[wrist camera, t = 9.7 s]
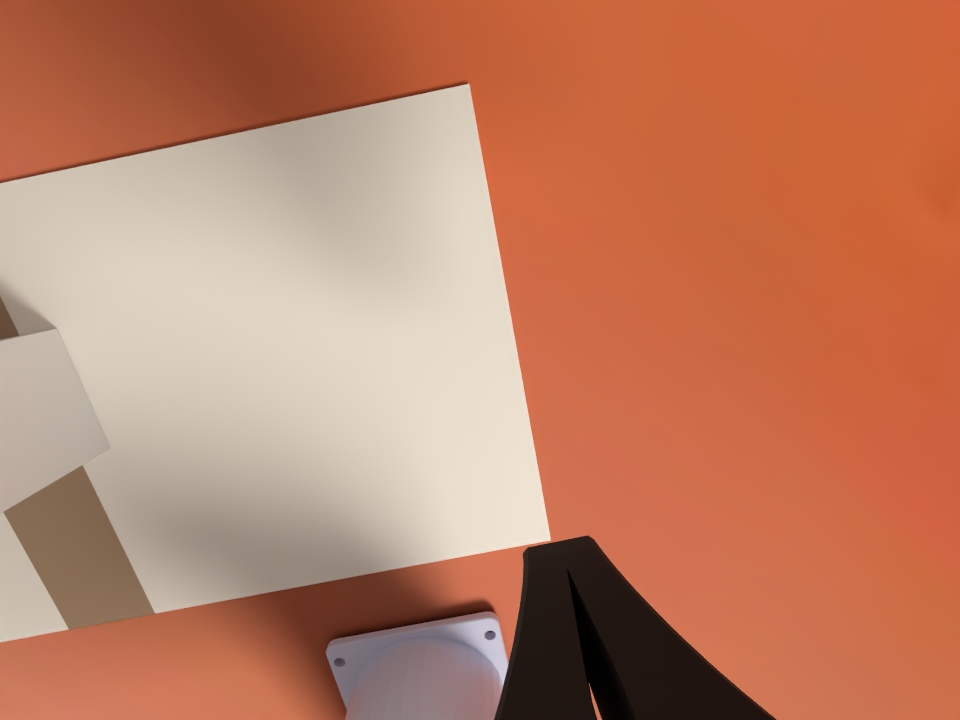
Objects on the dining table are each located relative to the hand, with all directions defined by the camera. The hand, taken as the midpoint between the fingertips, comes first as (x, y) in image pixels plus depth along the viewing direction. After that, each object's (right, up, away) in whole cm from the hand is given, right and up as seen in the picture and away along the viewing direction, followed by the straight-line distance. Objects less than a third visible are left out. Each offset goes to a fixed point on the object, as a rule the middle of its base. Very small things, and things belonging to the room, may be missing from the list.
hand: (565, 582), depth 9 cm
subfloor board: (-14, +2, +9) cm, 17 cm away
